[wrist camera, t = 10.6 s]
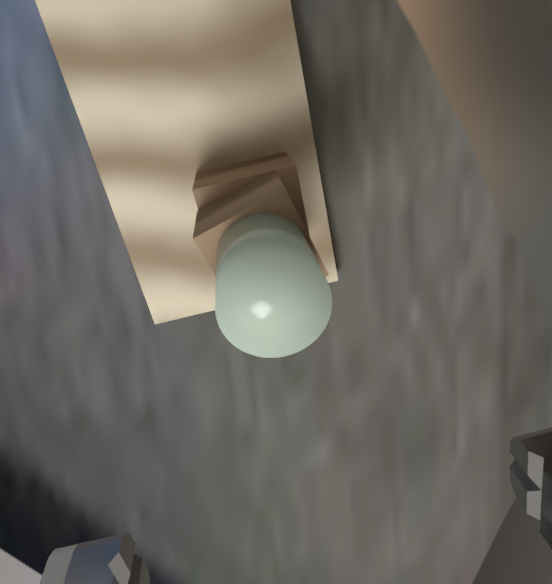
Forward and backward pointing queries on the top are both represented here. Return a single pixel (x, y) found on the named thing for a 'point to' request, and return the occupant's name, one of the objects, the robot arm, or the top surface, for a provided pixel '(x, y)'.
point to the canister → (269, 287)
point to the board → (184, 120)
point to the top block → (246, 214)
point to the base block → (249, 180)
